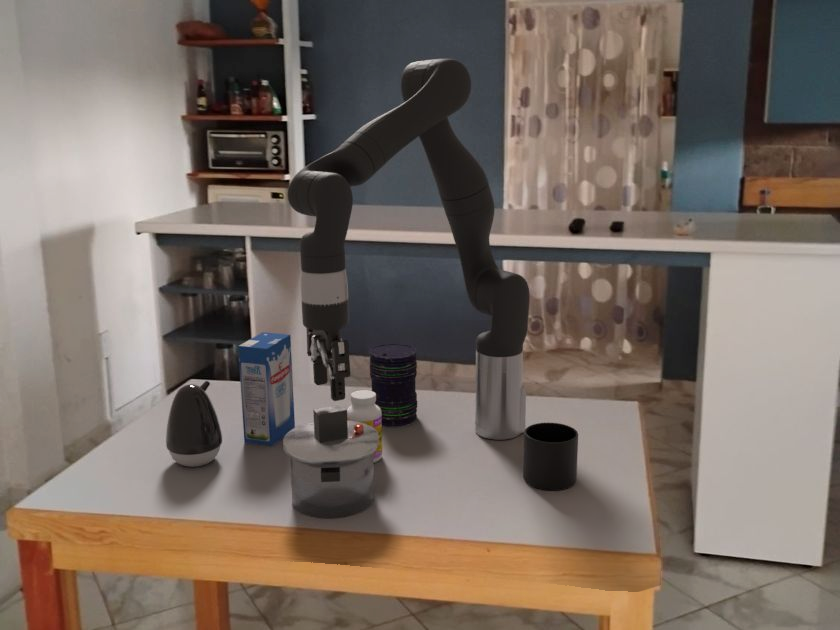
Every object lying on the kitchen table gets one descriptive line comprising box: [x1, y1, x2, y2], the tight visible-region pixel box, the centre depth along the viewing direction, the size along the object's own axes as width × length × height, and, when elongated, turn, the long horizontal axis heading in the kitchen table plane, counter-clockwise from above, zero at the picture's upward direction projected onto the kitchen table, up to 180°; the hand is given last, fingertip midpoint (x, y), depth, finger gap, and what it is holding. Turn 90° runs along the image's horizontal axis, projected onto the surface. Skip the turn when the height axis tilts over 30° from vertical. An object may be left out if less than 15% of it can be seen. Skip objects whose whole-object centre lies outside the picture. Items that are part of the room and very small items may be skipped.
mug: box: [522, 422, 579, 491], centre depth 158 cm, size 9×12×9 cm
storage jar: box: [369, 343, 418, 428], centre depth 185 cm, size 10×10×15 cm
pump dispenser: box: [165, 380, 223, 468], centre depth 165 cm, size 10×10×15 cm
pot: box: [289, 453, 375, 519], centre depth 151 cm, size 18×14×10 cm
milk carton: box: [237, 331, 296, 447], centre depth 176 cm, size 10×6×20 cm, turn 161°
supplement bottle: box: [346, 389, 383, 464], centre depth 166 cm, size 7×7×13 cm
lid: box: [282, 404, 379, 464], centre depth 148 cm, size 16×16×6 cm
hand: (329, 391), depth 147 cm, fingers open, 8 cm apart
